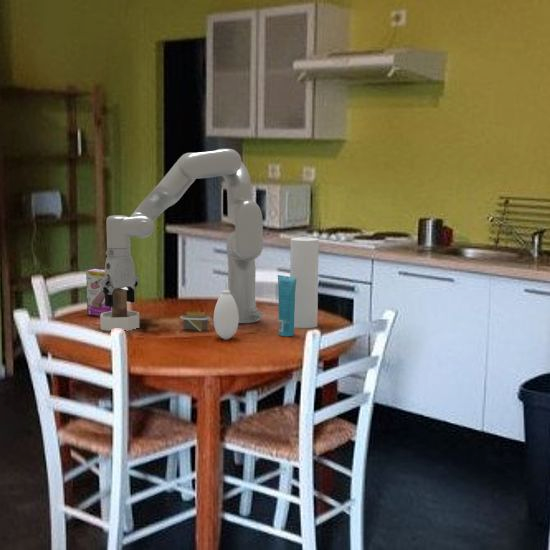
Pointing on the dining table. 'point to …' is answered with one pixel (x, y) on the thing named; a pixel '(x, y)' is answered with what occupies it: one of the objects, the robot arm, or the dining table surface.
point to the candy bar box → (95, 293)
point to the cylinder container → (305, 280)
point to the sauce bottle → (226, 315)
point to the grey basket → (195, 321)
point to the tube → (286, 304)
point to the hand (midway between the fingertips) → (120, 304)
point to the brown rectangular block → (119, 303)
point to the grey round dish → (119, 321)
